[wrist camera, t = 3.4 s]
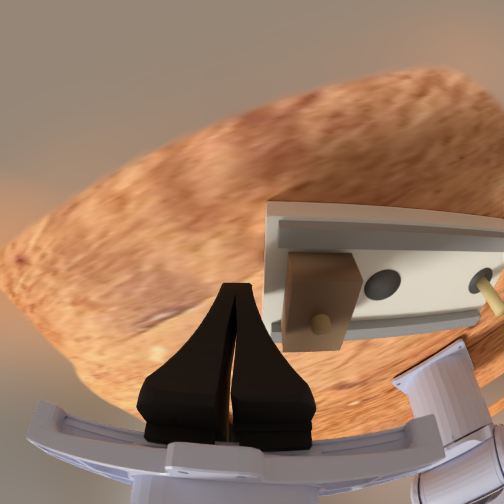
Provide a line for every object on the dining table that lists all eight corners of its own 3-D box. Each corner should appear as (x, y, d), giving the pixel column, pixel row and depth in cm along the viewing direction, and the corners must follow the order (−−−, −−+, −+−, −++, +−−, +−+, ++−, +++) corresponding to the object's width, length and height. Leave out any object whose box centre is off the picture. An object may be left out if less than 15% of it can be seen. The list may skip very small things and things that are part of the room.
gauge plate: (507, 219, 14) (545, 257, 10) (466, 306, 18) (489, 347, 15) (266, 201, 14) (269, 255, 10) (261, 317, 18) (262, 376, 15)
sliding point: (351, 253, 13) (366, 288, 11) (333, 322, 16) (341, 357, 14) (288, 252, 13) (293, 289, 11) (280, 323, 16) (283, 360, 14)
